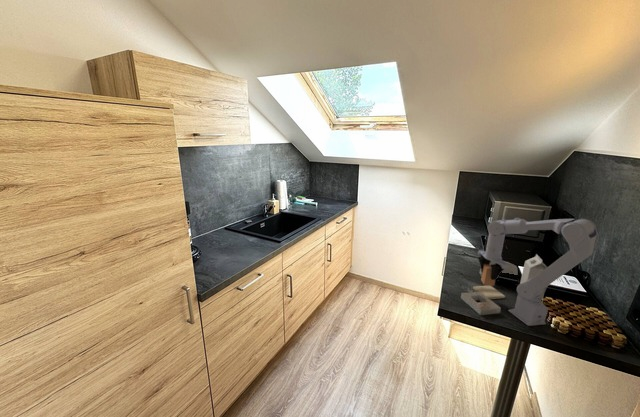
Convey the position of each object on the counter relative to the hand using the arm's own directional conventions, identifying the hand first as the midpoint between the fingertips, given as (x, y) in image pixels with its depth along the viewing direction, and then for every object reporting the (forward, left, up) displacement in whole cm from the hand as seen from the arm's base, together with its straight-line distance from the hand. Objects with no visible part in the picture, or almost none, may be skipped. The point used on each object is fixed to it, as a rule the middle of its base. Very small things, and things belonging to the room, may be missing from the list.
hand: (488, 275), depth 117 cm
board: (+2, -4, -10) cm, 11 cm away
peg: (0, 0, -3) cm, 3 cm away
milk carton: (-2, -22, -11) cm, 24 cm away
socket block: (-6, +7, -10) cm, 14 cm away
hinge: (+15, -20, -11) cm, 28 cm away
